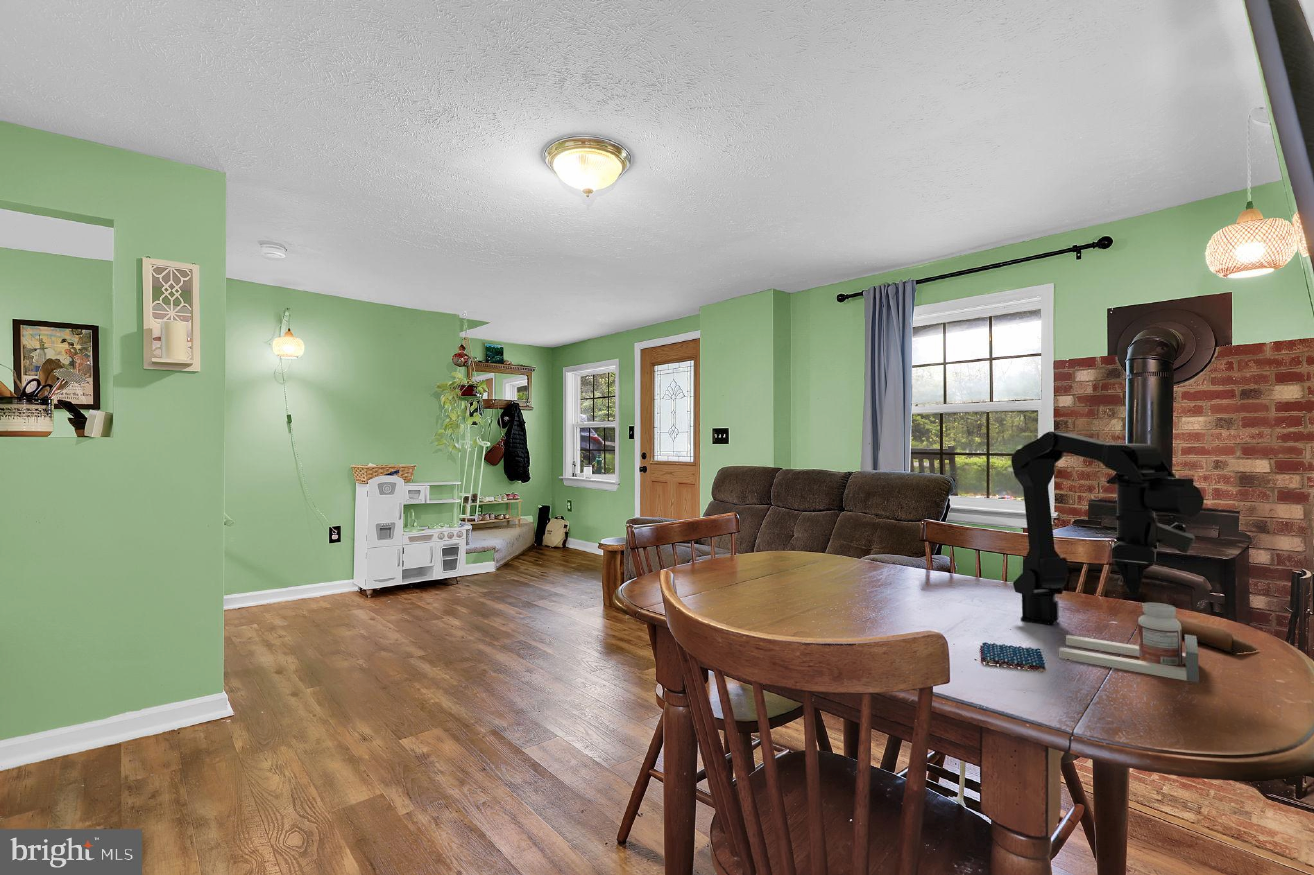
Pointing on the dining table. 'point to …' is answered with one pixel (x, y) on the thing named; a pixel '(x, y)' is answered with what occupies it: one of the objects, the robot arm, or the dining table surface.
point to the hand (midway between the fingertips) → (1135, 590)
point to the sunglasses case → (1214, 636)
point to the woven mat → (1012, 656)
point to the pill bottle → (1160, 635)
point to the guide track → (1129, 664)
